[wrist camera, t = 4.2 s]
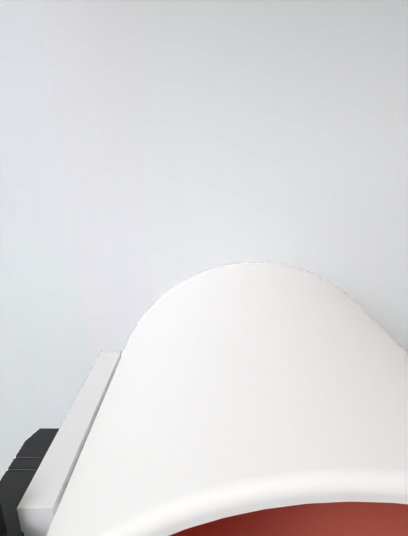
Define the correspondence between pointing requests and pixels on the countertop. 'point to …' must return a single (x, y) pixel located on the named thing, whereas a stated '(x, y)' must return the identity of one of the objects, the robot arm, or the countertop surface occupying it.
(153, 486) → the cup
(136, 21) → the countertop surface
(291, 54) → the countertop surface
